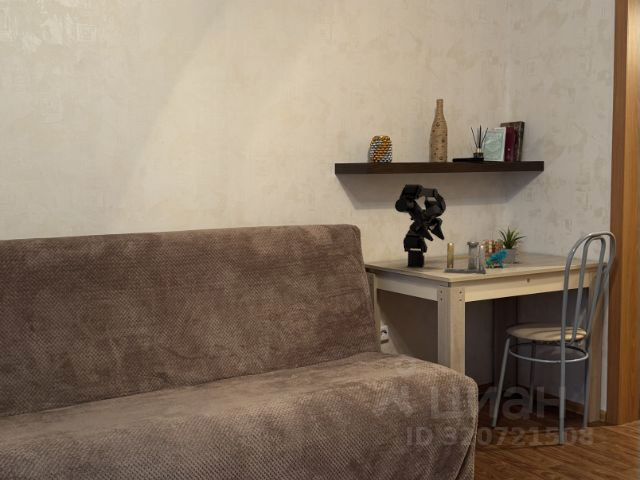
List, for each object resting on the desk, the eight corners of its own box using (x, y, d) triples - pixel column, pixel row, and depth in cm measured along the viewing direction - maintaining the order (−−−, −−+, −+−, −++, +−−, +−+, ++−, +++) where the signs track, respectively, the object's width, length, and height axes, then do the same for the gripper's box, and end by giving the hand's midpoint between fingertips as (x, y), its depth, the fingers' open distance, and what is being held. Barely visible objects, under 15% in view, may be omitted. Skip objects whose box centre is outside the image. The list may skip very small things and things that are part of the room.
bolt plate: (444, 272, 314) (444, 269, 314) (445, 270, 320) (445, 268, 320) (484, 274, 310) (484, 271, 310) (485, 272, 316) (485, 269, 316)
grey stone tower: (479, 273, 311) (479, 245, 310) (465, 268, 329) (465, 241, 328) (490, 273, 312) (491, 245, 311) (476, 267, 329) (476, 241, 328)
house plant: (510, 265, 338) (511, 227, 337) (485, 262, 349) (486, 226, 348) (530, 263, 348) (531, 226, 346) (505, 260, 358) (506, 224, 357)
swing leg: (466, 265, 326) (467, 241, 325) (471, 265, 324) (471, 241, 323) (445, 267, 318) (446, 243, 317) (450, 268, 316) (450, 243, 315)
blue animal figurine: (499, 261, 339) (509, 246, 332) (506, 272, 336) (516, 257, 329) (479, 266, 334) (488, 251, 327) (486, 277, 331) (496, 262, 324)
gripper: (416, 199, 315) (439, 228, 309) (439, 198, 330) (462, 226, 324) (399, 217, 321) (422, 246, 315) (422, 216, 335) (444, 243, 329)
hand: (438, 240), depth 321 cm, fingers open, 9 cm apart
